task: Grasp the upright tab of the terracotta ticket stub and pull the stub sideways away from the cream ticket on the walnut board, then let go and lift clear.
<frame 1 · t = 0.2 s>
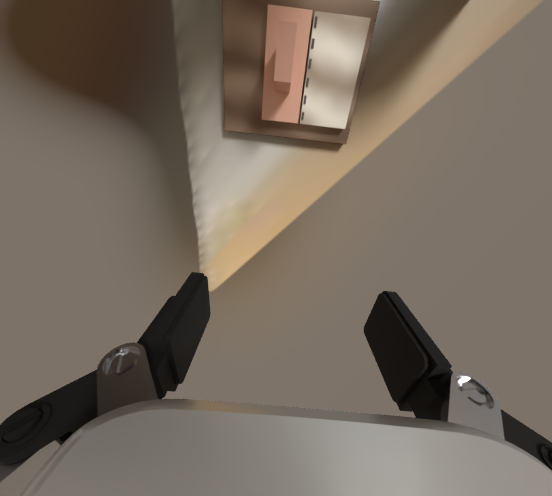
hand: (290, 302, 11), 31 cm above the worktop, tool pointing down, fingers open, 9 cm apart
stub: (284, 64, 25), point 5 cm above the worktop, slide at 0.0 cm
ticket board: (292, 76, 30), on the worktop
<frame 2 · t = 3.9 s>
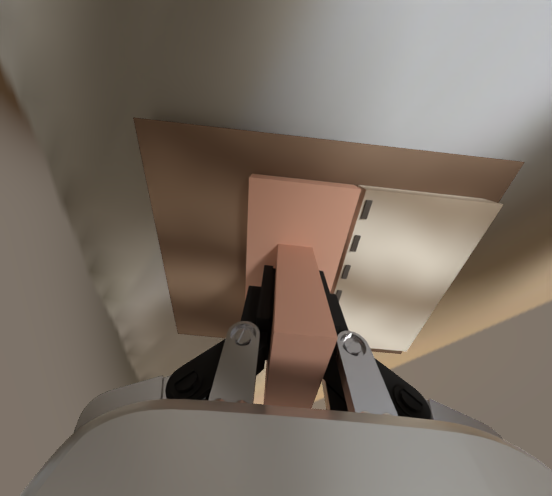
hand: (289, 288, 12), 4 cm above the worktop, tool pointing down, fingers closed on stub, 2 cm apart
stub: (290, 307, 10), point 5 cm above the worktop, slide at 0.0 cm, touching gripper
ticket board: (303, 258, 15), on the worktop
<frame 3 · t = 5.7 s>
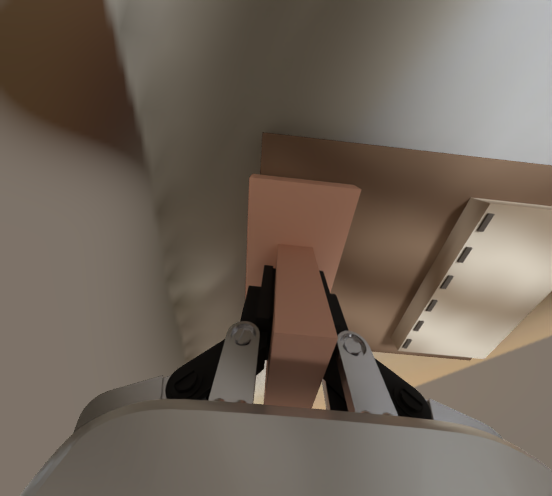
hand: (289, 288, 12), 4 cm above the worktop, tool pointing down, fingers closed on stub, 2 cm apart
stub: (291, 308, 10), point 5 cm above the worktop, slide at 6.4 cm, touching gripper
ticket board: (386, 267, 15), on the worktop
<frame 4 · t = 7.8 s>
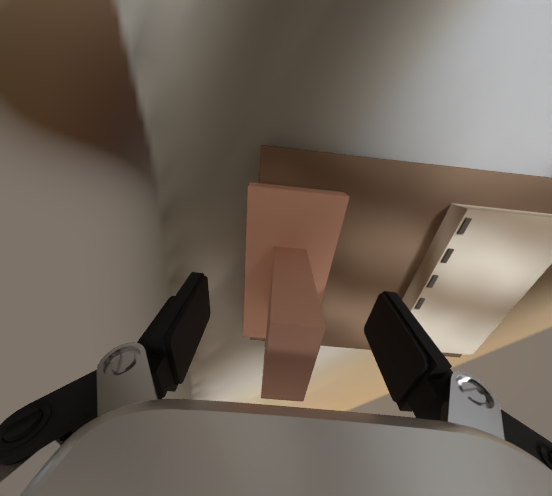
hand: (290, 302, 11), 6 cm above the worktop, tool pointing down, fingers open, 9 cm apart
stub: (286, 305, 11), point 5 cm above the worktop, slide at 6.5 cm
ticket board: (377, 268, 16), on the worktop
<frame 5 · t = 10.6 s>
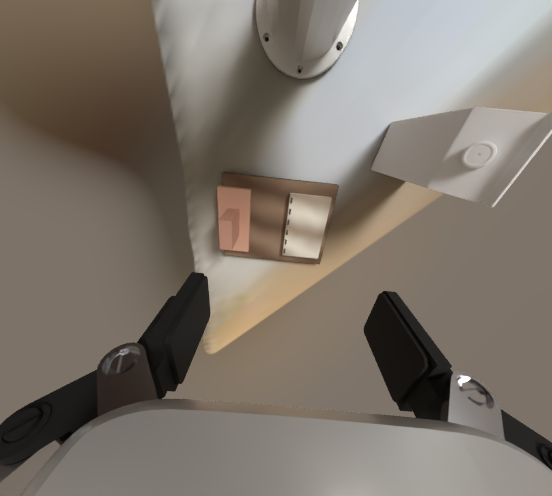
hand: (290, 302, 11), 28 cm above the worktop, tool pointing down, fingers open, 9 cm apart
stub: (230, 227, 34), point 5 cm above the worktop, slide at 6.5 cm
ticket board: (276, 220, 39), on the worktop
milk carton: (399, 152, 32), on the worktop
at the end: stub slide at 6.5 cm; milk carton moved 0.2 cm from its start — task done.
